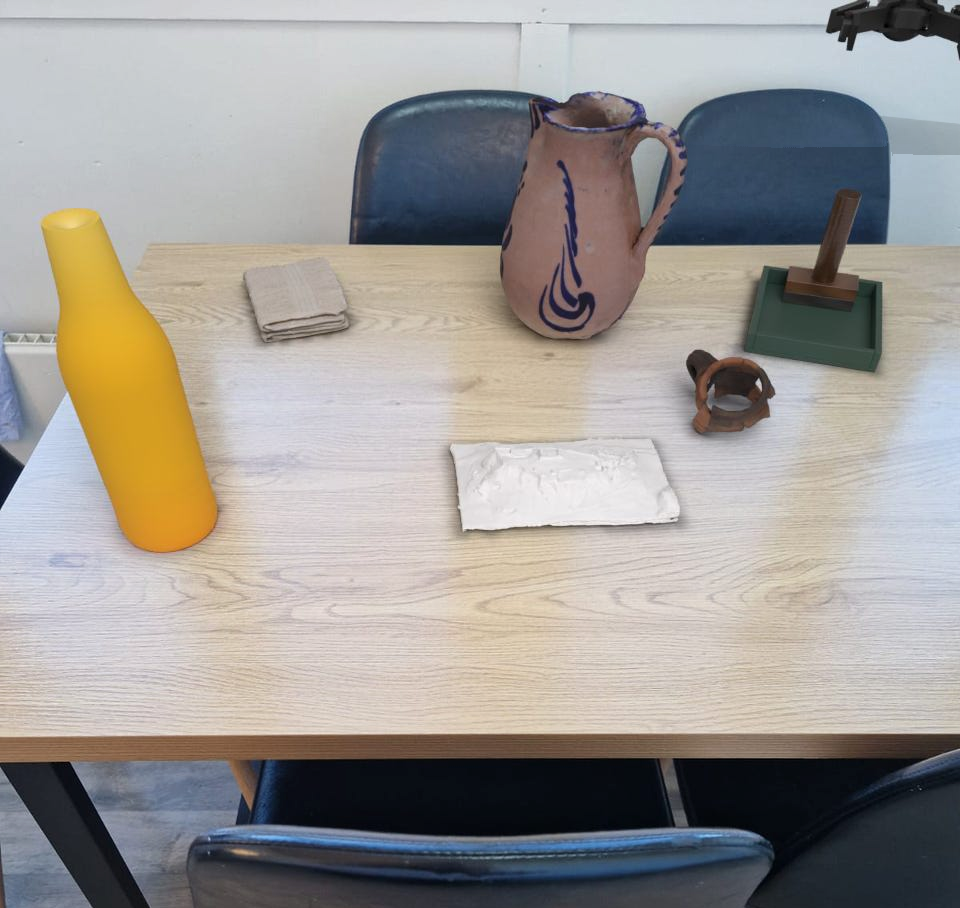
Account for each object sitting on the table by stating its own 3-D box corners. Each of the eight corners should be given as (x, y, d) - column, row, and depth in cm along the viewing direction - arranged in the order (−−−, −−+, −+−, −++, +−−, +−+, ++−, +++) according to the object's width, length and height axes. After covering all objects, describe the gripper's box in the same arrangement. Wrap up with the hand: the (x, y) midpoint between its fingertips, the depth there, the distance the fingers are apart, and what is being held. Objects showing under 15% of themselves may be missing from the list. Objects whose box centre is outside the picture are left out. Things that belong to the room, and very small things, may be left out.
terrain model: (693, 530, 86) (705, 489, 82) (467, 552, 82) (470, 511, 79) (640, 434, 97) (648, 394, 93) (438, 449, 93) (439, 409, 89)
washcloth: (263, 347, 108) (258, 323, 105) (241, 284, 119) (236, 261, 117) (356, 332, 110) (353, 309, 108) (326, 271, 122) (323, 249, 119)
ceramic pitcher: (524, 282, 120) (533, 74, 101) (673, 310, 115) (712, 96, 96) (478, 342, 109) (479, 120, 90) (641, 375, 104) (678, 148, 85)
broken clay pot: (785, 419, 98) (798, 382, 90) (724, 474, 98) (731, 442, 90) (710, 355, 102) (715, 313, 94) (650, 408, 102) (651, 371, 94)
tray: (876, 299, 117) (882, 281, 115) (874, 372, 104) (882, 353, 103) (759, 282, 120) (763, 265, 118) (744, 351, 108) (749, 332, 106)
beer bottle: (104, 545, 83) (-25, 237, 61) (153, 487, 89) (52, 188, 67) (191, 563, 81) (90, 253, 59) (236, 503, 87) (158, 202, 65)
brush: (851, 297, 116) (887, 191, 106) (850, 312, 113) (887, 205, 103) (783, 287, 118) (812, 182, 108) (781, 302, 115) (810, 195, 105)
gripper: (989, 43, 122) (1002, 87, 108) (807, 28, 127) (798, 68, 113) (1014, -23, 116) (1031, 15, 102) (823, -36, 121) (815, -2, 107)
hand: (909, 43), depth 108 cm, fingers open, 13 cm apart
